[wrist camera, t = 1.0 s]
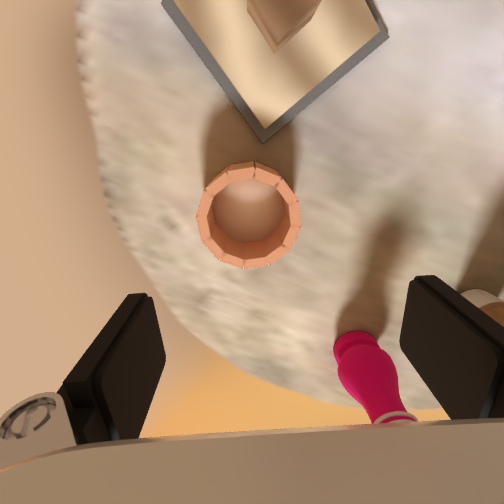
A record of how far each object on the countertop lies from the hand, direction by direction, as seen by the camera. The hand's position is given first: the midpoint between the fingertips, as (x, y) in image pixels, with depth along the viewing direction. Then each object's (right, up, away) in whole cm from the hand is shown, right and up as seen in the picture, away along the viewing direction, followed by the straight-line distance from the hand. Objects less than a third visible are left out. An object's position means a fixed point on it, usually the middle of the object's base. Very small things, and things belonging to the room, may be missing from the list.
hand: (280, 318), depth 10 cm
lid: (+1, +24, +16) cm, 28 cm away
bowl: (-1, +8, +23) cm, 24 cm away
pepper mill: (+14, -11, +31) cm, 36 cm away
